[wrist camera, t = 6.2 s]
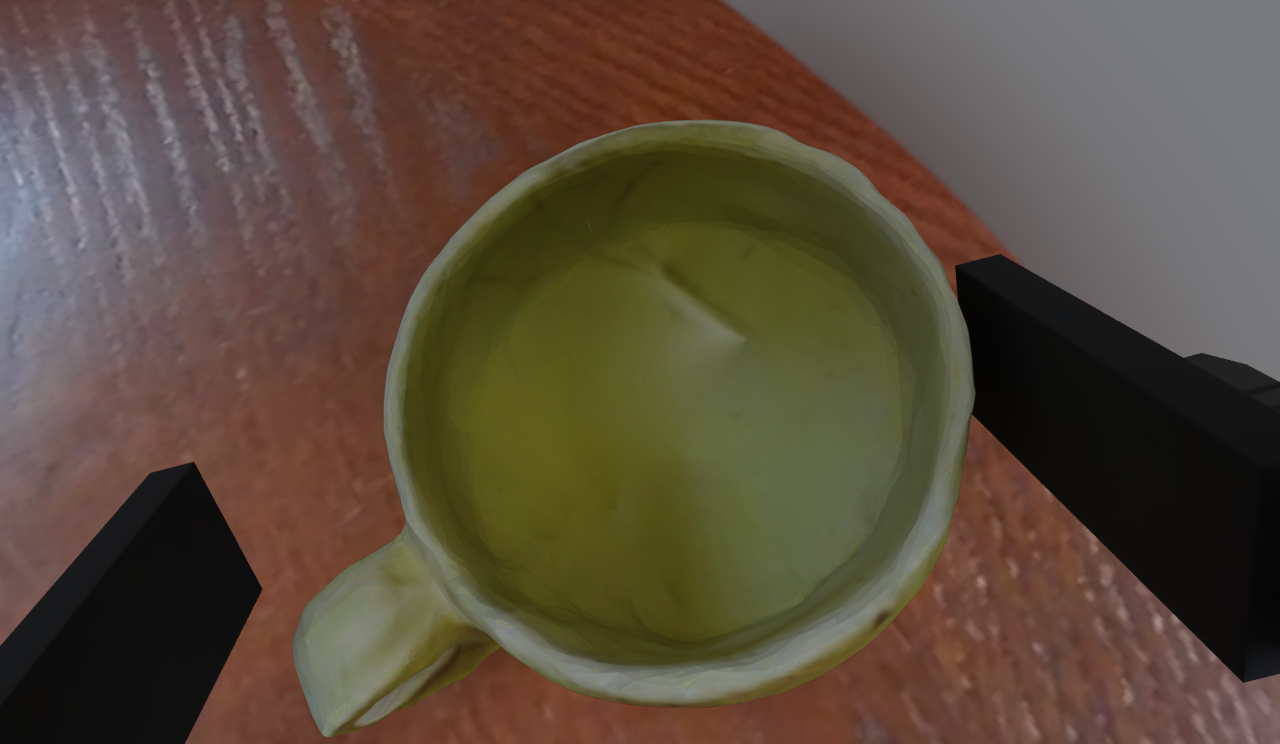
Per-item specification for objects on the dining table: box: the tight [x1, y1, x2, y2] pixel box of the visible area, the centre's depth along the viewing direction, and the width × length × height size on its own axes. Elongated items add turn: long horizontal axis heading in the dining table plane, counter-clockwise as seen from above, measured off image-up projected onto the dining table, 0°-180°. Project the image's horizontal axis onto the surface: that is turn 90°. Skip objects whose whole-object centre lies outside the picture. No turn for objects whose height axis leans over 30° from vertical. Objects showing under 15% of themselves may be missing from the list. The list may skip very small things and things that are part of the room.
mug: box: [292, 120, 976, 737], centre depth 17 cm, size 12×10×10 cm
